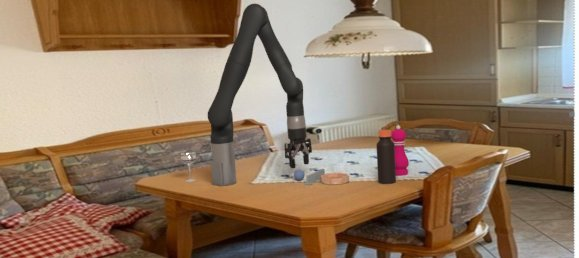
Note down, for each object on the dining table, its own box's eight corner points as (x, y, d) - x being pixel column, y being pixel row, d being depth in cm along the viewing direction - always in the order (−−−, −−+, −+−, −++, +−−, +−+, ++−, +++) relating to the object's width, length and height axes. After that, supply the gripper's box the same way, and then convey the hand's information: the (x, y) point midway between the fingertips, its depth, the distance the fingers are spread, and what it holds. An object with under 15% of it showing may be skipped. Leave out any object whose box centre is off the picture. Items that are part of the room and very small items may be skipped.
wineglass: (189, 178, 251) (187, 151, 249) (201, 179, 247) (199, 152, 246) (179, 181, 245) (176, 154, 244) (191, 182, 242) (188, 154, 240)
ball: (300, 181, 230) (299, 171, 229) (291, 180, 233) (291, 170, 232) (307, 179, 233) (306, 169, 232) (298, 178, 236) (298, 168, 235)
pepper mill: (396, 171, 237) (394, 124, 235) (412, 172, 233) (410, 124, 230) (387, 175, 232) (385, 126, 229) (403, 176, 227) (401, 126, 225)
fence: (310, 184, 223) (310, 176, 223) (304, 184, 225) (303, 175, 224) (327, 177, 235) (326, 169, 234) (320, 177, 236) (320, 168, 236)
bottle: (396, 180, 222) (394, 129, 219) (395, 184, 215) (392, 131, 213) (379, 180, 223) (376, 129, 221) (377, 184, 217) (374, 132, 215)
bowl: (337, 185, 218) (337, 179, 218) (315, 183, 225) (315, 177, 225) (354, 180, 226) (354, 174, 226) (332, 177, 234) (331, 171, 233)
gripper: (292, 129, 222) (295, 170, 224) (314, 124, 233) (317, 163, 235) (277, 129, 227) (281, 169, 229) (300, 124, 238) (303, 162, 240)
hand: (299, 166), depth 232 cm, fingers open, 8 cm apart
